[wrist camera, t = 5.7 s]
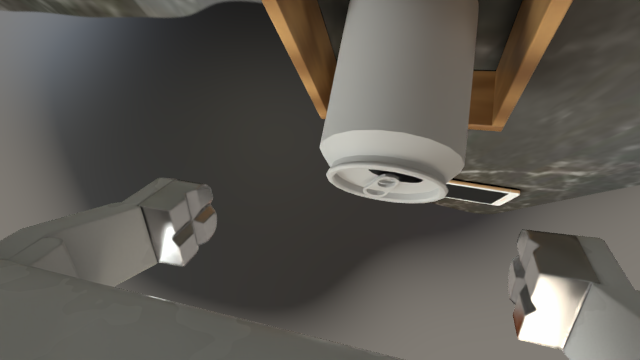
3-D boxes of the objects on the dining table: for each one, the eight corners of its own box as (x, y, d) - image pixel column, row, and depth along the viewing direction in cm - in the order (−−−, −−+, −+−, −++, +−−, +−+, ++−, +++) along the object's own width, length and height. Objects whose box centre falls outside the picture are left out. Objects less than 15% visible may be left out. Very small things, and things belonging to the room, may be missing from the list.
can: (511, -19, 19) (497, 197, 16) (430, 54, 26) (409, 214, 23) (386, -79, 18) (343, 152, 14) (334, 16, 25) (298, 185, 21)
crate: (261, -125, 17) (237, -48, 15) (610, -169, 13) (613, -71, 12) (330, 71, 31) (320, 118, 30) (505, 77, 27) (501, 131, 26)
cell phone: (404, 171, 52) (403, 176, 52) (521, 190, 50) (521, 194, 50) (397, 185, 60) (397, 189, 60) (499, 202, 58) (499, 206, 58)
